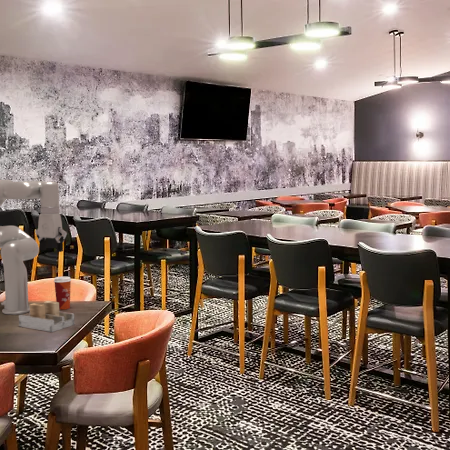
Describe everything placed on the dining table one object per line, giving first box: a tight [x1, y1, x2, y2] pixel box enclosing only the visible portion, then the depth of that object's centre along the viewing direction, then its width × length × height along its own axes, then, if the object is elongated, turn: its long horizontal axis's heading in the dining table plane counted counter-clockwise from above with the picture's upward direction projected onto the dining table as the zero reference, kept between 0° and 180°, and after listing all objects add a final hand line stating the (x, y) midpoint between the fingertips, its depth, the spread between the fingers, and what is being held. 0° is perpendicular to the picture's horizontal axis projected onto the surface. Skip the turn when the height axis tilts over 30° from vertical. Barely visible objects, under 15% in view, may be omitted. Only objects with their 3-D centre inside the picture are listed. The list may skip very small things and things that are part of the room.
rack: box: [18, 310, 75, 333], centre depth 242 cm, size 18×12×5 cm
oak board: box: [29, 303, 46, 319], centre depth 241 cm, size 6×2×9 cm, turn 61°
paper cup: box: [53, 276, 72, 311], centre depth 271 cm, size 8×8×14 cm
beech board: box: [43, 300, 60, 316], centre depth 244 cm, size 6×2×9 cm, turn 60°
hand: (51, 250), depth 255 cm, fingers open, 9 cm apart
